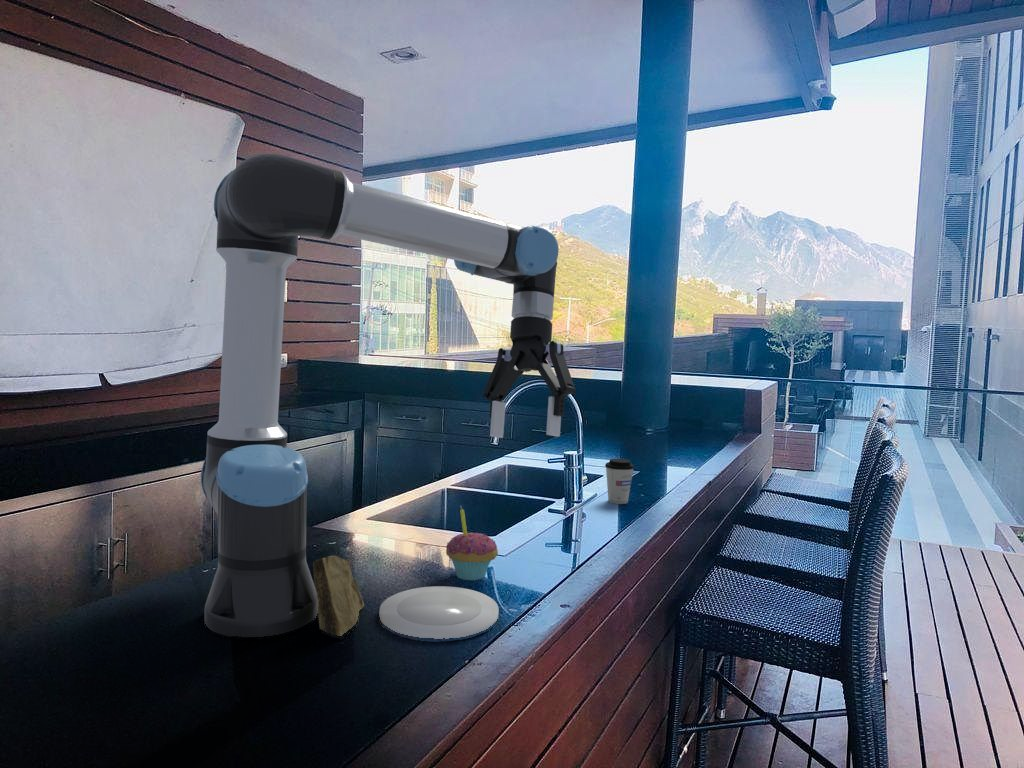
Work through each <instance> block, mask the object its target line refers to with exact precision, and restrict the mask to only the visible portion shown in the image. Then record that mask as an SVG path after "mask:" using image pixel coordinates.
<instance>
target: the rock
mask: <svg viewBox="0 0 1024 768" xmlns="http://www.w3.org/2000/svg"><path fill="white" fill-rule="evenodd" d="M312 567H313V583H314V586H315V589H316V592H317V599H318V615H317V617H318V627H319V630H320V629H321V630H323V631H325V632H327V633H330V634H332V635H337V636H342V635H343V634H344V633H346V632H347V631H348V630H349V629H351V628H352V627H353V626H354V625H355V624H356V622H357V620H358V619H359V618H358V616H359V611H360V610H361V609H363V608H364V607H365V603H364V599H363V596H362V594H361V592H360V588H359V584H358V582H357V580H356V578H354V576H353V572H352V569H351V562H350V560H347V559H344V558H342V557H339V556H338V555H337V556H336V555H329V556H328V555H327V556H326V557H321V558H318V559H316V560H314V561H313V562H312ZM361 611H362V610H361ZM361 611H360V612H361ZM359 617H360V616H359ZM358 621H359V620H358Z"/></svg>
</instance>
